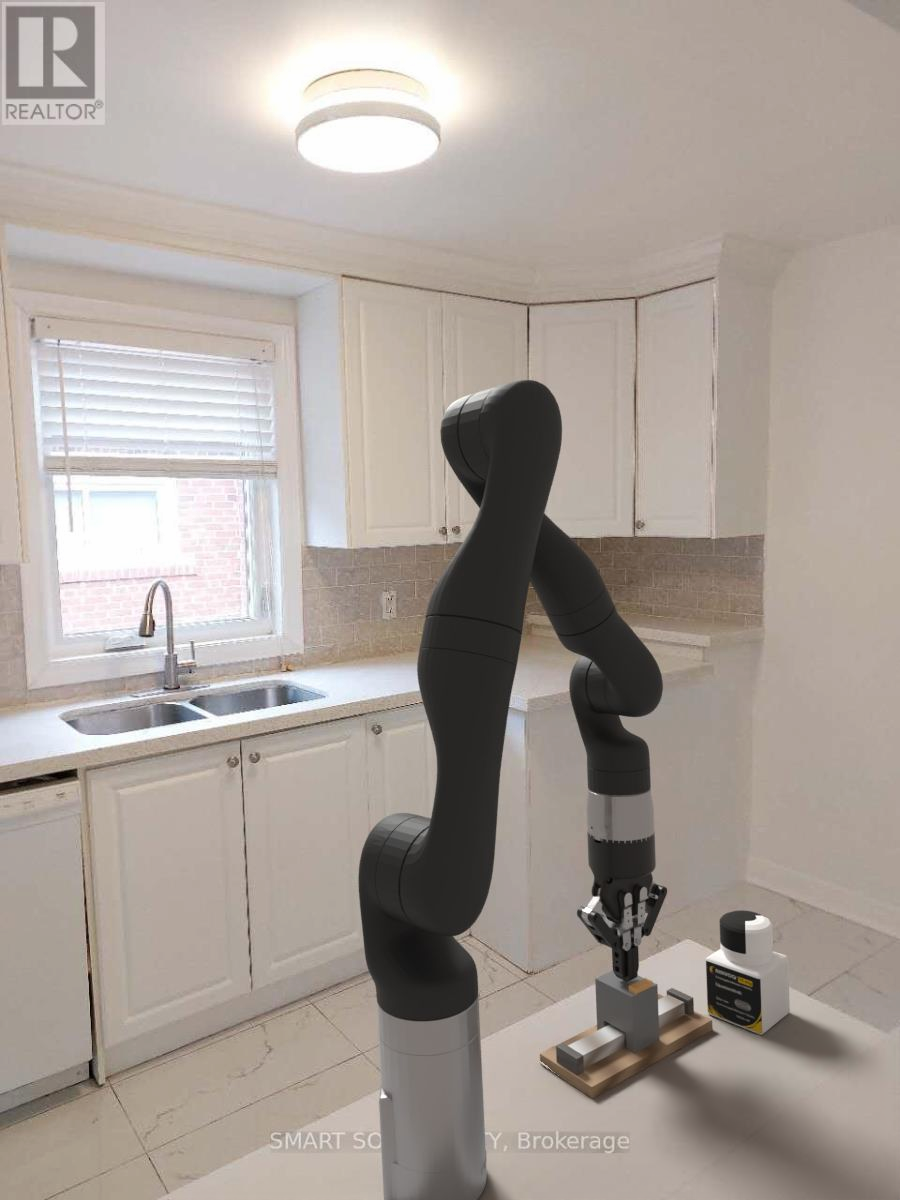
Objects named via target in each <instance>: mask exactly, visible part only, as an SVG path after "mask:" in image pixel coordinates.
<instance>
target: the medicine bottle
mask: <svg viewBox="0 0 900 1200" xmlns="http://www.w3.org/2000/svg"><path fill="white" fill-rule="evenodd" d="M773 936H774V935H773V923H772V921H770V919H769V918H768V917H766V916H765V915H762V914H760V913H758V912H755V911H751V910H733V911H729V912H726V913H724V914H723V915H722V916H721V917H720V918H719V942H720V944H719V946H720V948H719V949H718V950H716V951H715V952H713V953H712V954H709V956H707V957H706V958H705V969H706V972H705V974H706V997H707V998H706V1001H707V1013H708V1015H710V1016H713V1017H715V1018H717V1019H720V1020H722V1021H724V1022H727V1023H730V1024H732V1025H734V1026H736V1027H740V1028H742V1029H744V1030H747V1031H748V1032H749V1031H750V1032H753V1033H754V1034H757V1035H759V1036H762V1035H764V1034H765V1033H766V1032H767V1031H769V1030H770V1029H771V1028H772V1027H773V1026H775V1025H776V1024H777V1023H778V1022H779V1021H781V1020H782V1019H783V1018H784V1017H787V1015H788V1014H789V1013H790V1010H791V1007H790V1006H791V1003H790V977H789V976H790V975H789V972H790V970H789V958H788V956H787V955H785V954H782V953H779V952H776V951H774V942H773V941H774V940H773V939H774V937H773Z"/></svg>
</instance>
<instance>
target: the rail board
mask: <svg viewBox="0 0 900 1200" xmlns="http://www.w3.org/2000/svg"><path fill="white" fill-rule="evenodd" d="M694 1005H695V1003H694V997H692V996H690V995H688V994H686V993H684V992H682V991H680V990H678V989H676V988H673V987H671V988H668V989H666V995H665V996H664V995H662V994H660V993H658V1014H659V1041H657V1042H655V1043H653V1044H651V1045H649V1046H648V1047H646V1048H644V1049H642V1050H640V1051H638V1052H637V1053H635V1054H634V1053H632V1052H630V1051H628V1050H627V1045H626V1032H624V1031H622V1030H620V1029H618V1028H617V1027H615V1026H613V1025H611V1024H609V1025H607V1026H605V1027H604V1028H602V1029H600V1030H598V1031H597V1024H596V1025H594V1026H592V1027H590V1028H588V1029H586V1030H584V1031H582V1032H580V1033H578V1034H576V1035H574V1036H571V1037H570V1038H568V1039H566V1040H564V1041H562V1042H560V1043H558V1044H556V1045H554V1046H552V1047H550V1048H548V1049H546V1050H545V1051H542V1052H540V1053H539V1062H540V1061H541V1062H543V1063H544V1064H545V1065H547V1066H548V1067H549V1068H550V1069H551V1070H552V1071H553V1072H555V1073H556V1074H557V1075H556V1074H555V1073H554V1074H555V1075H556V1076H558V1075H559V1076H560V1078H561V1079H562V1080H563V1081H566V1083H568V1084H570V1085H571V1086H573V1088H575V1089H577V1090H579V1091H580V1092H582V1093H583V1094H584V1095H586V1096H588V1097H589V1098H591V1099H594V1098H596V1097H597V1096H600V1095H601V1094H602V1093H605V1092H606V1091H607V1090H610V1089H611V1088H613V1087H615V1086H616V1085H618V1084H620V1083H622V1082H623V1081H625V1080H627V1079H629V1078H631V1077H633V1076H634V1075H637V1074H638V1073H639V1072H642V1071H643V1070H644V1069H647V1068H648V1067H650V1066H651V1065H653V1064H655V1063H657V1062H658V1061H660V1060H663V1059H664V1058H665V1057H668V1056H670V1054H672V1053H674V1052H676V1051H678V1050H679V1049H682V1048H683V1047H686V1046H687V1045H688V1044H691V1043H692V1042H694V1041H695V1040H697V1039H699V1038H701V1037H702V1036H705V1035H706V1034H709V1032H711V1031H712V1030H713V1029H714V1028H713V1019H711V1018H710V1017H707V1016H705V1015H704V1014H701V1013H699V1012H697V1011H695V1008H694V1007H695V1006H694ZM552 1071H551V1072H552ZM553 1072H552V1073H553ZM559 1076H558V1077H559Z"/></svg>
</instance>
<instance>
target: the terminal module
mask: <svg viewBox="0 0 900 1200" xmlns="http://www.w3.org/2000/svg"><path fill="white" fill-rule="evenodd" d="M594 983H595V984H594V986H595V1005H596V1009H595V1010H596V1025H597V1031H598V1030H600V1029H602V1028H604V1027H605V1026H607V1025H609V1024H611V1025H613V1026H615V1027H617V1028H618V1029H620V1030H622V1031H624V1032H626V1045H627V1050H628V1051H630V1052H632V1053H634V1054H635V1053H637V1052H638V1051H640V1050H642V1049H644V1048H646V1047H648V1046H649V1045H651V1044H653V1043H655V1042H657V1041H659V1014H658V994H659V991H658V984H657V983H655V982H653V980H651V979H648V978H647V977H642V976H640V975H638V976H637V978H634V979H632V980H630V981H628V982H626V981H624V980H622V979H620V978H618V977H617V976H616V975H615V974H614V972H613V970H610V971H609V972H605V973H604V974H602V975H600V976H597V977H595V979H594Z"/></svg>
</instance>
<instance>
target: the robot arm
mask: <svg viewBox="0 0 900 1200" xmlns="http://www.w3.org/2000/svg"><path fill="white" fill-rule="evenodd" d="M441 419H442V420H441V422H440V430H439V431H440V432H439V433H440V443H441V444H440V445H441V446H442V451H443V453H444V456H445V459H446V460H447V463H448V465H449V466H450V467H451V469H452V471H453V472H454V474H455V476H456V478H457V479H458V481H459V482H460V484H461V485H462V486H463V488H464V489H465V491H466V492H467V493H468V495H469V496H470V497H471V499H472V500H473V502H474V503H475V504H476V505H477V507H478V508H479V511H478V513H477V516H476V518H475V521H474V522H473V524H472V526H471V528H470V530H469V531H468V533H467V535H466V537H465V539H464V540H463V542H462V543H461V544H460V546H459V548H458V549H457V551H456V553H455V554H454V555H453V557H452V558H451V560H450V562H449V563H448V565H447V566H446V568H445V569H444V570H443V573H442V574H441V576H440V577H439V579H438V581H437V583H436V586H435V587H434V589H433V591H432V593H431V596H430V598H429V601H428V604H427V608H426V613H425V617H424V624H423V629H422V634H421V638H420V639H421V640H420V644H419V651H418V655H417V656H418V657H417V662H416V663H417V664H416V665H417V667H416V672H417V673H416V674H417V683H418V688H419V692H420V696H421V700H422V704H423V707H424V710H425V711H424V712H425V713H426V716H427V720H428V724H429V728H430V731H431V735H432V739H433V743H434V748H435V754H436V782H435V792H434V799H433V806H432V812H431V817H426V816H423V815H419V814H415V813H410V812H397V813H393V814H390V815H387V816H386V817H383V818H382V819H381V820H380V821H379V822H377V823H376V824H375V825H374V827H373V828H372V829H371V831H370V832H369V834H368V835H367V837H366V840H365V841H364V844H363V847H362V851H361V854H360V859H359V866H358V877H357V879H358V897H359V898H358V899H359V900H358V901H359V909H360V919H361V927H362V928H361V929H362V930H361V931H362V937H363V948H364V949H363V950H364V956H365V957H364V958H365V964H366V966H367V969H368V971H369V974H370V976H371V978H372V981H373V983H374V985H375V994H376V995H375V996H376V1011H377V1012H376V1013H377V1028H378V1029H377V1030H378V1050H379V1052H378V1053H379V1069H380V1070H379V1071H380V1090H379V1097H378V1098H379V1099H378V1109H379V1128H380V1130H379V1131H380V1148H381V1150H380V1151H381V1165H382V1170H381V1171H382V1186H383V1187H382V1188H383V1200H479V1198H480V1197H481V1195H482V1194H483V1192H484V1190H485V1188H486V1186H487V1177H488V1175H487V1174H488V1173H487V1172H488V1170H487V1163H488V1162H487V1149H486V1127H485V1109H484V1108H485V1107H484V1084H483V1066H482V1064H483V1062H482V1043H481V1040H482V1039H481V1022H480V1021H481V1020H480V1019H481V1018H480V1001H479V977H478V975H479V974H478V969H477V965H476V962H475V959H474V958H473V956H472V955H471V954H470V953H469V951H467V949H465V947H464V946H463V945H461V944H460V942H458V940H457V939H456V938H455V937H457V936H460V935H461V934H464V933H465V932H466V931H468V930H469V929H470V928H471V927H472V926H473V925H474V924H475V923H476V921H477V920H478V918H479V917H480V915H481V913H482V912H483V909H484V907H485V904H486V902H487V899H488V896H489V893H490V888H491V884H492V879H493V872H494V865H495V854H496V843H497V842H496V841H497V825H498V813H499V812H498V809H499V795H500V794H499V793H500V779H501V771H502V770H501V769H502V760H503V752H504V746H505V739H506V730H507V722H508V717H509V710H510V709H509V708H510V702H511V696H512V692H513V691H512V690H513V686H514V681H515V678H516V677H515V676H516V671H517V665H518V660H519V653H520V648H521V643H522V642H521V641H522V634H523V629H524V628H523V627H524V620H525V619H524V618H525V612H526V611H525V610H526V605H527V598H528V592H529V587H530V585H531V586H532V588H533V591H534V592H535V593H536V595H537V598H538V600H539V601H540V604H541V606H542V608H543V610H544V612H545V614H546V617H547V618H548V620H549V622H550V624H551V626H552V628H553V631H554V632H555V634H556V636H557V638H558V640H559V641H560V643H561V644H562V646H563V647H564V648H565V649H566V650H567V651H569V652H572V653H574V654H577V655H579V657H578V659H577V660H576V661H575V663H574V665H573V667H572V669H571V672H570V677H569V683H568V685H569V686H568V687H569V688H568V689H569V696H570V697H569V698H570V703H571V706H572V708H573V712H574V716H575V719H576V723H577V727H578V730H579V733H580V737H581V739H582V743H583V746H584V749H585V753H586V771H587V773H586V774H587V798H586V827H587V833H586V834H587V835H586V836H587V856H588V857H587V858H588V859H587V860H588V861H587V863H588V867H589V868H590V870H591V872H592V875H593V883H592V887H591V896H592V898H591V899H590V901H589V902H588V904H587V906H586V907H584V906H580V907H578V908H577V911H576V915H577V918H579V920H580V921H581V922H582V923H583V925H584V926H585V928H586V929H587V930H588V931H589V932H590V934H591V935H592V937H593V938H594V939H595V940H596V942H597V943H599V945H604V946H606V947H607V948H610V949H611V954H612V955H611V957H612V963H611V964H612V971H613V972H614V974H615V975H616V976H617V977H618V978H620V979H622V980H624V981H626V982H628V981H630V980H632V979H634V978H637V976H639V973H638V972H639V968H640V962H639V961H640V957H639V946H640V945H641V943H642V938H643V937H649V936H650V935H651V934H652V932H653V929H654V927H655V924H656V922H657V919H658V918H659V917H658V916H659V914H660V912H661V909H662V906H663V905H664V901H665V899H666V897H667V894H668V888H667V887H666V886H664V885H660V884H658V883H656V882H655V881H654V880H653V879H654V878H653V874H652V873H653V872H654V871H655V869H656V867H657V862H656V861H657V860H656V857H657V856H656V837H655V833H656V832H655V811H654V802H653V797H652V789H651V787H652V785H651V781H652V780H651V764H650V763H651V761H650V759H651V758H650V757H651V756H650V750H649V746H648V743H647V742H646V740H644V738H642V737H640V736H639V735H636V734H634V733H632V732H630V731H629V730H627V729H626V728H625V727H624V726H623V723H622V720H621V718H620V716H622V717H629V718H641V717H645V716H648V715H650V714H652V712H654V711H655V710H656V709H657V707H658V706H659V704H660V703H661V700H662V697H663V692H664V691H663V690H664V683H663V675H662V672H661V668H660V667H659V664H658V663H657V660H656V659H655V656H654V655H653V654H652V652H651V651H650V649H648V647H647V646H646V645H645V644H644V642H643V641H642V640H641V639H640V638H639V637H638V635H637V634H636V632H634V630H633V629H632V628H631V627H630V625H629V624H628V623H627V622H626V621H625V620H624V619H623V618H622V616H621V615H619V613H618V611H617V608H616V606H615V604H614V602H613V599H612V597H611V595H610V593H609V591H608V588H607V586H606V584H605V582H604V579H603V578H602V576H601V573H600V571H599V570H598V568H597V566H596V565H595V563H594V562H593V561H592V559H591V558H590V557H589V556H588V554H587V553H586V552H585V551H584V550H583V548H581V547H580V545H579V544H578V543H577V542H576V541H574V540H573V539H572V538H571V537H570V536H569V535H568V534H567V533H566V532H564V530H563V529H561V528H560V526H558V525H556V524H555V522H553V520H552V519H551V518H550V517H549V516H548V515H546V513H545V512H546V507H547V505H548V502H549V497H550V494H551V489H552V485H553V483H554V479H555V476H556V475H555V474H556V472H557V467H558V463H559V458H560V454H561V449H562V448H561V447H562V441H563V440H562V439H563V422H562V415H561V410H560V407H559V403H558V402H557V400H556V397H555V395H554V394H553V392H551V390H550V389H549V387H548V386H546V385H545V384H543V383H542V382H539V381H537V380H533V379H532V380H531V379H524V380H522V379H521V380H516V381H514V380H513V381H511V382H507V383H502V384H499V385H497V386H494V387H493V386H492V387H491V388H487V389H484V390H480V391H477V392H474V393H473V392H472V393H470V394H467V395H465V396H462V397H460V398H458V399H456V400H455V401H453V402H451V404H450V405H449V406H448V407H447V409H446V411H444V413H443V416H442V418H441ZM646 914H647V915H646Z"/></svg>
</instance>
